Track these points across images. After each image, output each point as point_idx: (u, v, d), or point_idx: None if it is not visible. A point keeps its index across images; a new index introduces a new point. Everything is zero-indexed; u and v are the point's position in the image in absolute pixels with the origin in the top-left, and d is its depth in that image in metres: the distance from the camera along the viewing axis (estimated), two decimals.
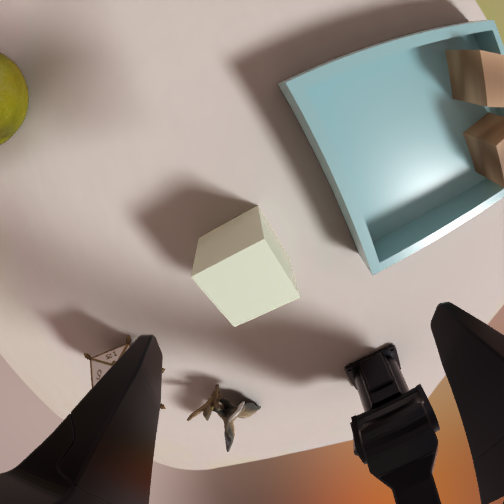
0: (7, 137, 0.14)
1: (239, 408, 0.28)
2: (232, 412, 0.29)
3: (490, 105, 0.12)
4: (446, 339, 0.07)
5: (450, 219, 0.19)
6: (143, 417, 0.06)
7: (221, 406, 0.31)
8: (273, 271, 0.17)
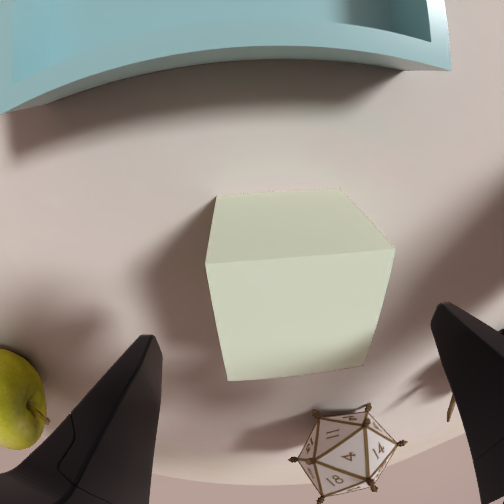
0: (36, 390, 0.15)
1: None
2: None
3: None
4: (446, 339, 0.07)
5: None
6: (143, 417, 0.06)
7: None
8: (296, 276, 0.07)
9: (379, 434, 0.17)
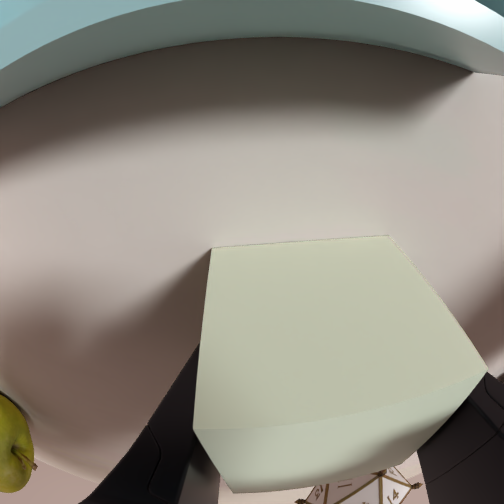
0: (20, 434, 0.12)
1: None
2: None
3: None
4: None
5: None
6: None
7: None
8: (345, 429, 0.04)
9: (394, 480, 0.13)
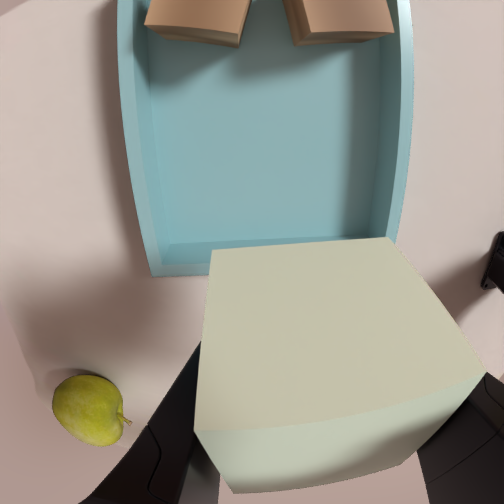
0: (120, 402, 0.26)
1: None
2: None
3: (237, 25, 0.09)
4: None
5: (396, 136, 0.13)
6: None
7: None
8: (344, 430, 0.04)
9: None
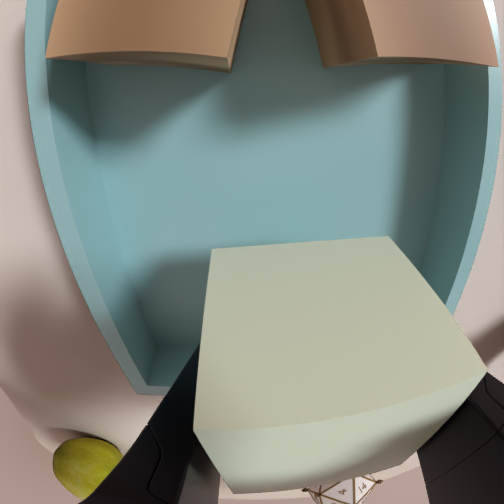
0: None
1: None
2: None
3: (224, 39, 0.04)
4: None
5: (467, 219, 0.08)
6: None
7: None
8: (344, 430, 0.04)
9: (363, 477, 0.23)
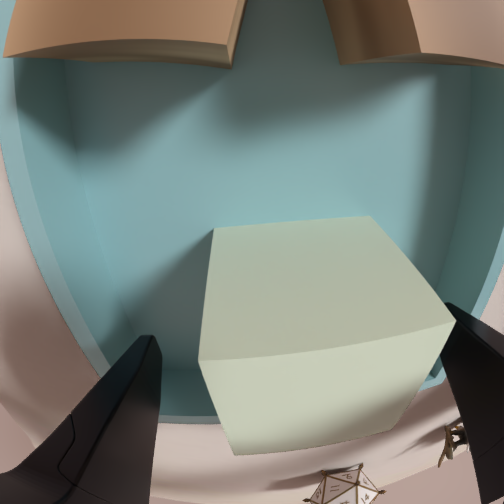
0: None
1: None
2: (467, 441, 0.20)
3: (223, 20, 0.03)
4: None
5: (492, 239, 0.07)
6: (143, 417, 0.06)
7: None
8: (327, 367, 0.05)
9: (366, 488, 0.21)
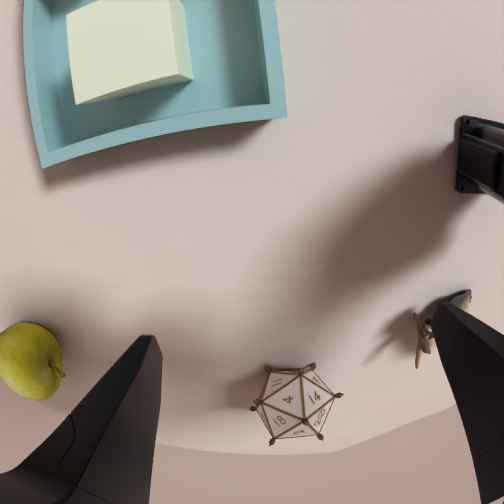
0: (56, 352, 0.23)
1: None
2: None
3: None
4: (446, 339, 0.07)
5: None
6: (143, 417, 0.06)
7: None
8: (108, 6, 0.08)
9: (315, 384, 0.24)
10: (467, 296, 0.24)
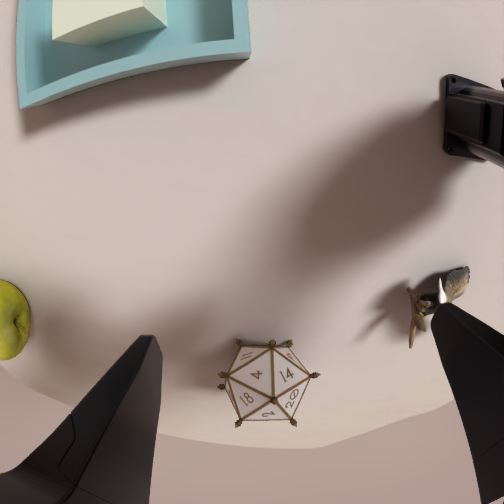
0: (23, 311, 0.21)
1: (439, 289, 0.20)
2: None
3: None
4: (446, 339, 0.07)
5: None
6: (143, 417, 0.06)
7: (431, 303, 0.24)
8: None
9: (288, 360, 0.23)
10: (465, 273, 0.23)
